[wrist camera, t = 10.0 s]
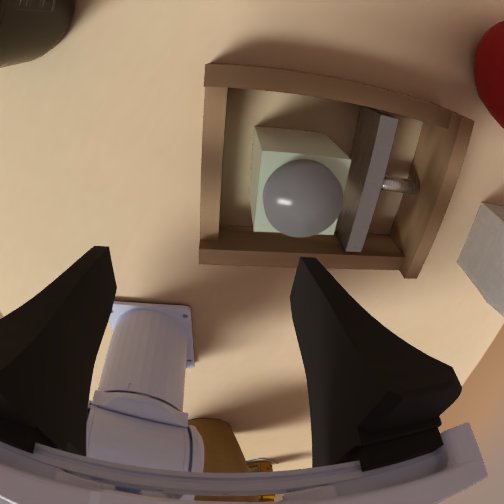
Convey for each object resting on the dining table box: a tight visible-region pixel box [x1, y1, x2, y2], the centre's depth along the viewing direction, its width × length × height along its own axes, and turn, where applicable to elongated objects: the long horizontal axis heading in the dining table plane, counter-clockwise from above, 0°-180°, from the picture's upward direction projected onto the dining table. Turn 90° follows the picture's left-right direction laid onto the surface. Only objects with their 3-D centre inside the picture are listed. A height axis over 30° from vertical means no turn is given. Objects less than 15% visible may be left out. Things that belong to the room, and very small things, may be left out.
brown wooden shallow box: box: [199, 63, 474, 278], centre depth 19 cm, size 12×16×4 cm
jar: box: [249, 126, 351, 237], centre depth 18 cm, size 4×4×6 cm
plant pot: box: [188, 419, 259, 502], centre depth 37 cm, size 15×15×16 cm
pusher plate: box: [335, 105, 419, 252], centre depth 19 cm, size 9×5×3 cm, turn 175°
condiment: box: [246, 458, 279, 502], centre depth 54 cm, size 7×8×12 cm
